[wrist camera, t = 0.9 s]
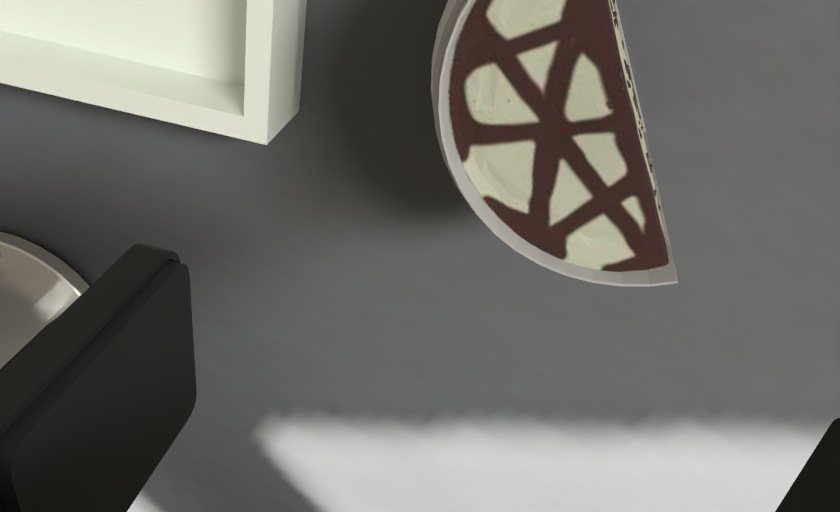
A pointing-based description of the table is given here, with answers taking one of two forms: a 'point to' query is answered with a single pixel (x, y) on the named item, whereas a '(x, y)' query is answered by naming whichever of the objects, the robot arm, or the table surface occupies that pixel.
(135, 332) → the robot arm
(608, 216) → the food container
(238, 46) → the tray
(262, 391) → the table surface
